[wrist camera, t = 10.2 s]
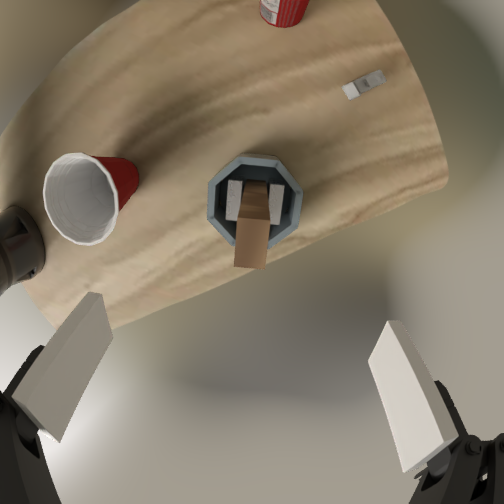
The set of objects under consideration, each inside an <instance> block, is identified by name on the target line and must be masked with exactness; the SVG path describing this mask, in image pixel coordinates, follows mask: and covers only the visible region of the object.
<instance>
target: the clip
mask: <svg viewBox="0 0 504 504" xmlns="http://www.w3.org/2000/svg"><path fill="white" fill-rule="evenodd" d="M243 185H244V176H242V175H231V177H230V178H229V180H228V191H227V206H226V220H233V221H237V217H238V213H239V209H240V205H241V200H242V196H243ZM283 194H284V183H283V181H282V180H281V179H273V178H269V186H268V203H269V211H270V220H271V222H270V224H275V225H279V224H280V217H281V209H282V201H283Z"/></svg>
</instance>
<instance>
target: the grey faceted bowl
mask: <svg viewBox="0 0 504 504" xmlns="http://www.w3.org/2000/svg"><path fill="white" fill-rule="evenodd" d="M231 175H242V176H244V185H243V192H244V188H245V185H246V181H247V179H254V180H264V181H266V187H267V195H268V186H269V178H273V179H281V180H282V181H283V183H284V194H283V201H282V209H281V217H280V224H279V225H275V224H270V230H269V238H268V247H267V249H270V248H271V247H272V246H274V245H275V244H277V243H278V242H279V241H281V240H282V239H283V238H285V237H286V236H287V235H289V234H290V233H292V232H293V231H294V230H296V229H297V227H298V224H299V218H300V211H301V205H302V198H303V190H302V188H301V187H300V186H299V184H298V183H297V181H296V180H295V179H294V177H293V176H292V175H291V174H290V172H289V171H288V170H287V169H286V167H285V166H284V165H283V164H282V162H281V161H280V160H279V159H278V158H277V156H271V155H261V154H251V153H241V154H240V155H239V156H237V157H236V158H235V159H234V160H232V161H231V162H230V163H229V164H228V165H226V166H225V167H224V168H223V169H222V170H221V171H219V172H218V173H217V174H216V175H215V176H214V177H213V178H212V179H211V180H210V181H209V183H208V204H207V220H208V221H209V222H210V223H211V224H212V225H213V226H214V227H215V228H216V229H217V231H218V232H219V233H220V234H221V235H222V236H223V237H224V238H225V239H226V240H227V241H228V242H229V244H230V245H231V246H235V243H236V229H237V221H233V220H226V206H227V191H228V180H229V178H230V177H231ZM222 179H223V181H222ZM289 185H290V186H291V187H290V186H289ZM220 202H221V204H222V206H221V205H220ZM287 208H288V209H287ZM286 210H287V211H286Z"/></svg>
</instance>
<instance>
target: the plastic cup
mask: <svg viewBox="0 0 504 504" xmlns="http://www.w3.org/2000/svg"><path fill="white" fill-rule="evenodd" d="M138 183H139V174H138V171H137V168H136V167H135V166H134V164H133V163H132V162H130V161H128V160H126V159H124V158H116V157H95V156H89V155H87V154H85V153H68V154H65V155H63V156H62V157H60V158H59V159H57V160H56V161H54V162H53V164H52V165H51V167H50V169H49V171H48V172H47V174H46V176H45V182H44V188H43V197H44V204H45V210H46V212H47V214H48V216H49V218H50V221H51V223H52V225H53V226H54V227H55V228H56V229H57V230H58V231H59V233H60V234H61V235H62V236H63V237H65V238H66V239H68V240H70V241H72V242H73V243H75V244H79V245H88V246H91V245H94V244H97V243H99V242H102V241H104V240H105V239H106V238H107V236H108V235H109V234H110V233H111V232H112V231H113V230H114V227H115V223H116V220H117V216H118V213H119V211H120V210H121V209H122V207H123V206H124V205H125V204H126V202H127V201H128V200H129V199H130V197H131V195H132V194H133V193H134V192H135V191H136V189H137V186H138Z"/></svg>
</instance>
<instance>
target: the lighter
mask: <svg viewBox="0 0 504 504" xmlns="http://www.w3.org/2000/svg"><path fill="white" fill-rule="evenodd" d="M386 81H387V80H386V78H385V77H384V75H383V73H382V72H381V70H377V71H375V72H372V73H370V74H368V75H365V76H363V77H361V78H359V79H357V80H354V81H352V82H350V83H348V84H346V85H344V86H342V89H343V90H344V92H345V94H346V95H347V97H348V99H349V100H352V99H355V98H357V97H359V96H361V94H362V93H363V92H365V91H367V90H370V89H372V88H374V87H376V86H378V85H380V84H383V83H385V82H386Z"/></svg>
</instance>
